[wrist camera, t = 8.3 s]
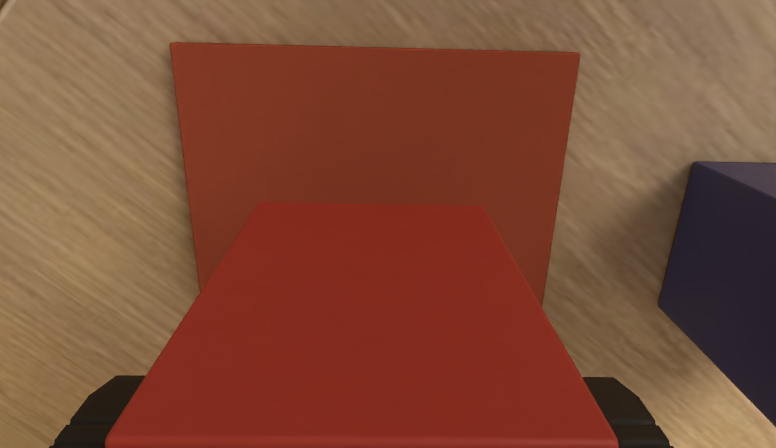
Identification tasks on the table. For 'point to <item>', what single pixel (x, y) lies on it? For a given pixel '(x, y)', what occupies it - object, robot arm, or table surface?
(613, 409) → the robot arm
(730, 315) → the blue block
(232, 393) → the red block
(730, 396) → the table surface
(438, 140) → the red mat
